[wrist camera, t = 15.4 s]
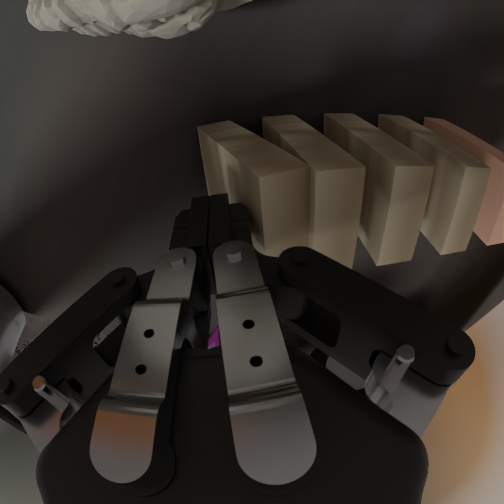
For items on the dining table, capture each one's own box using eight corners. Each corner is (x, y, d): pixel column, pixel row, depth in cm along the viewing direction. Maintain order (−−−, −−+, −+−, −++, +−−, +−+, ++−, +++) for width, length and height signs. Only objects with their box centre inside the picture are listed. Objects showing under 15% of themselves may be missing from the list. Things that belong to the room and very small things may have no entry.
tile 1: (209, 198, 19) (267, 285, 13) (197, 126, 16) (259, 177, 10) (237, 190, 20) (307, 270, 13) (228, 119, 17) (310, 165, 10)
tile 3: (322, 182, 20) (376, 266, 13) (323, 113, 17) (395, 166, 10) (348, 180, 20) (411, 260, 13) (352, 113, 17) (434, 166, 10)
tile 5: (415, 176, 20) (486, 245, 13) (424, 116, 17) (512, 168, 10) (434, 176, 20) (504, 242, 13) (443, 119, 17) (529, 170, 10)
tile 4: (373, 178, 20) (440, 255, 13) (378, 113, 17) (465, 167, 10) (395, 177, 20) (465, 250, 13) (402, 115, 17) (491, 168, 10)
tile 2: (266, 188, 20) (311, 278, 13) (261, 117, 17) (315, 171, 10) (295, 184, 20) (351, 269, 13) (293, 114, 17) (365, 166, 10)
